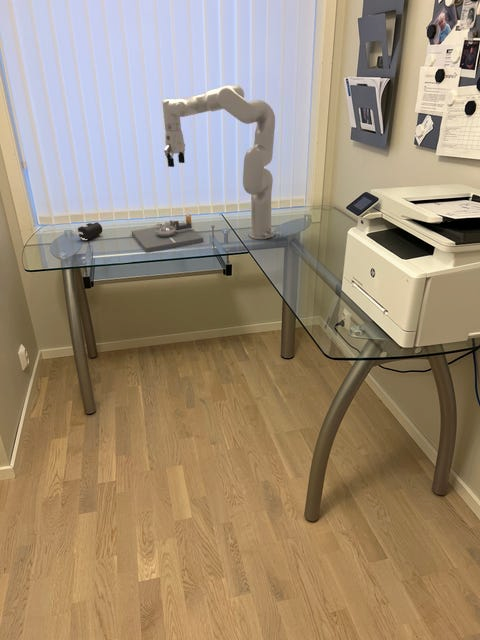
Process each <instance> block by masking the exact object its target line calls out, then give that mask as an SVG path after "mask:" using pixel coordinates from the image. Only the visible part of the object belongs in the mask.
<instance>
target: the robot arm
mask: <svg viewBox="0 0 480 640" xmlns="http://www.w3.org/2000/svg"><path fill="white" fill-rule="evenodd" d="M162 110H163V111H162V112H163V120H164V122H163V123H164V130H165V137H164V138H165V139H164V140H165V148H164V150H163V151H164V154H165V156H166V159H167V167H168V168H169V167H170V168H174V167H175V162H174V160H175V159H174V158H173V157H174V154H177V158H178V159H177V161H178V163H179V164H185V163H186V162H185V150H186V144H185V139H184V134H183V130H182V124H181V117H182V118H185V117H189V116H194V115H198V114H202V113H207V112H216V111H221V110H224V111H226V112H227V113H228V114H230V115H231V116H233V117H234V118H235V119H236V120H238V121H239V122H241V123H243V124H247V125H250V124H255V123H256V128H255V131H254V141H253V146H252V147H250V148H249V149H247V151H246V153H245V155H244V158H243V171H242V172H243V173H242V186H243V189H244V191H245V192H246V193H247V194H249V195H251V197H250V209H251V210H250V212H251V213H250V214H251V215H250V216H251V217H250V218H251V230H250V231H249V232H248V237H249V238H250V239H254V240H268V239H267V238H269V239H271V238H270V237H272V238H273V237H275V231H273V230H272V193H273V192H272V191H273V183H274V182H273V181H274V180H273V175H272V173H271V171H270V170H269V169H267V168H265V167H266V166H268V165H269V164H270V163H271V162H272V161H273V153H274V141H275V129H276V116H275V112H274V110H273V108H272V107H271V106H270V105H269V104H268V103H267V102H266V101H264V100H261V99H253V100H250V101H248V100H246V99H245V92H244V89H243V88H242V87H241V86H240V85H237V84H231V85H230V84H229V85H224V86H222V87H218V88H215V89H210V90H208V91H206V93H204V94H199V95H196V96H195V95H194V96H190V97H184V98H178V99H177V98H165V99H163V101H162Z"/></svg>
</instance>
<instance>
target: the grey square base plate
mask: <svg viewBox="0 0 480 640" xmlns="http://www.w3.org/2000/svg"><path fill="white" fill-rule="evenodd" d="M182 224H186V221H185V222H184V221H182V222H179V225H182ZM176 232H177V233H176V235H174V236H170V237H158V236H156V231H155V226H153V227H148V228H141V229H135V230H131V236H132V237H133V238H134V239H135V240H136V242H138V244H139V245H140V246H141V247H142V249H143V250H144V251H145V253H150V252H156V251H160V250H161V251H162V250H167V249H171V248H177V247H183V246H189V245H194V244H198V243H199V244H200V243H204V236H202V235H201V234H199V233H198V232H197V231H196V230H195V229H193V227H192V228H188V229H182V230H176Z"/></svg>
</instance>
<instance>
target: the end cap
mask: <svg viewBox="0 0 480 640" xmlns="http://www.w3.org/2000/svg"><path fill="white" fill-rule="evenodd" d="M85 225H86V226H79V227H77V232H78V237H79V238H81V237H82V238H85V239H90V240H92V239H94V238H96V236H97V237H98V235H99V236H100V235H101V234H102V233H103V227H102V225H101V224H100V222H97V221H96V222H94V223H91V222H90V223H86V224H85ZM81 233H82V234H81ZM91 238H92V239H91Z"/></svg>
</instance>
